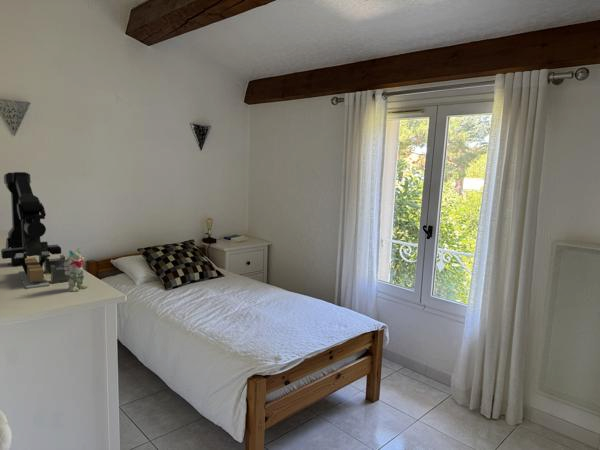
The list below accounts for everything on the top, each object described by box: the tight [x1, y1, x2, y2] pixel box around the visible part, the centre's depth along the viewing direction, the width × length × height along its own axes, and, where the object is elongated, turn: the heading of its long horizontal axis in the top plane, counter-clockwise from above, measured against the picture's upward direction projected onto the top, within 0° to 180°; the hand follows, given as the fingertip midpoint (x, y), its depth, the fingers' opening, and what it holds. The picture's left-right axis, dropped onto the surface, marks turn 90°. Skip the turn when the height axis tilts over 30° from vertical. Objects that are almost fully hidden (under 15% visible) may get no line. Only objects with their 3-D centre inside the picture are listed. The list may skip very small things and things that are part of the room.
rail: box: [25, 256, 45, 282], centre depth 154 cm, size 22×4×4 cm, turn 40°
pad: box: [18, 270, 50, 290], centre depth 155 cm, size 25×7×1 cm, turn 40°
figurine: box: [62, 247, 89, 293], centre depth 145 cm, size 8×8×15 cm
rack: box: [43, 254, 70, 284], centre depth 160 cm, size 20×7×6 cm, turn 40°
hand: (32, 273), depth 155 cm, fingers closed on rail, 4 cm apart
